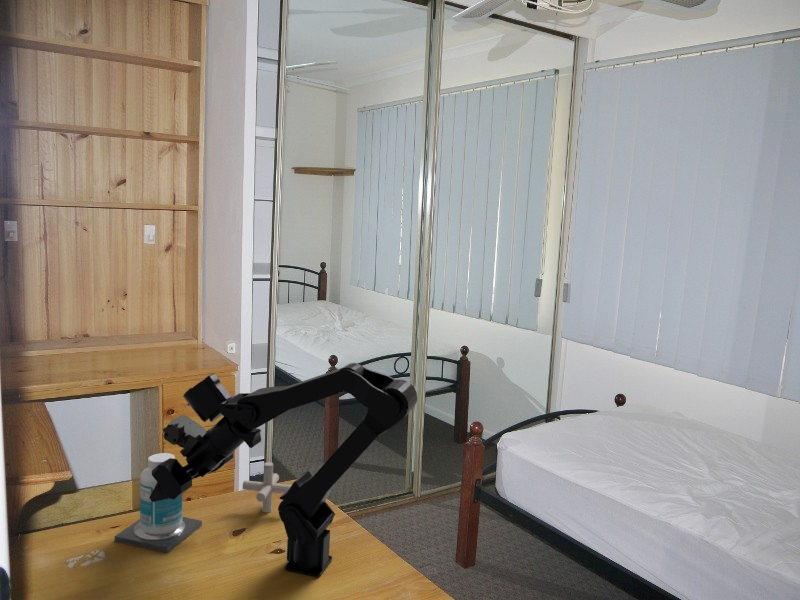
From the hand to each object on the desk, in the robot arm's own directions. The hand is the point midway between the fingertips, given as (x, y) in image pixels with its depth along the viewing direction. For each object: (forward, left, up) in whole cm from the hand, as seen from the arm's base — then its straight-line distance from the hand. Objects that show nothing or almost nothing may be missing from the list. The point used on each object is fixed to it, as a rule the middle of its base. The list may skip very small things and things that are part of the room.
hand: (166, 489), depth 123 cm
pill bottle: (+1, 0, -8) cm, 8 cm away
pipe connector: (-13, -16, -9) cm, 22 cm away
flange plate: (+1, 0, -9) cm, 9 cm away
